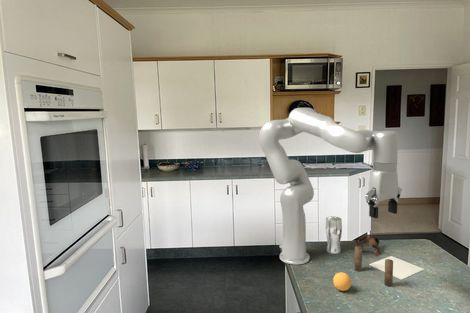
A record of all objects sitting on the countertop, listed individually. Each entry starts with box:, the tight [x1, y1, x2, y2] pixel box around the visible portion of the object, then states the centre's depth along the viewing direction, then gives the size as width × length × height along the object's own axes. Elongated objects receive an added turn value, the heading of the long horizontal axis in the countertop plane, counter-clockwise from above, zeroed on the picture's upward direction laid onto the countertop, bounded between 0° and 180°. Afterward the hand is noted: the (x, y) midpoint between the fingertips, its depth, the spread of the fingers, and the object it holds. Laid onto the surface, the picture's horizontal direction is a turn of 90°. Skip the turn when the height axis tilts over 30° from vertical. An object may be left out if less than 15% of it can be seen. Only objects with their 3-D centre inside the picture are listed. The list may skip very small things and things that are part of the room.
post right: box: [383, 259, 394, 288], centre depth 113 cm, size 3×3×9 cm
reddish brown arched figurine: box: [354, 234, 381, 257], centre depth 141 cm, size 12×10×8 cm
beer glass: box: [325, 215, 343, 255], centre depth 142 cm, size 7×7×15 cm
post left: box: [354, 247, 363, 272], centre depth 124 cm, size 3×3×9 cm
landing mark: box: [368, 255, 425, 280], centre depth 126 cm, size 14×14×1 cm
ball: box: [332, 271, 352, 292], centre depth 111 cm, size 6×6×6 cm
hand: (383, 214), depth 112 cm, fingers open, 9 cm apart
